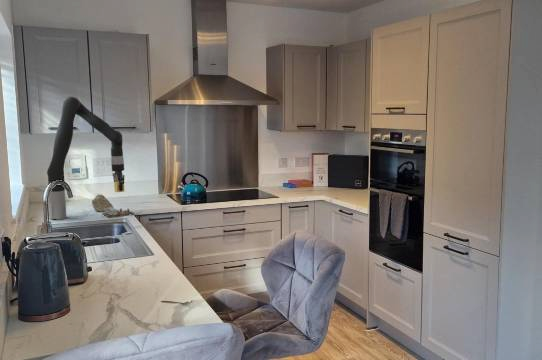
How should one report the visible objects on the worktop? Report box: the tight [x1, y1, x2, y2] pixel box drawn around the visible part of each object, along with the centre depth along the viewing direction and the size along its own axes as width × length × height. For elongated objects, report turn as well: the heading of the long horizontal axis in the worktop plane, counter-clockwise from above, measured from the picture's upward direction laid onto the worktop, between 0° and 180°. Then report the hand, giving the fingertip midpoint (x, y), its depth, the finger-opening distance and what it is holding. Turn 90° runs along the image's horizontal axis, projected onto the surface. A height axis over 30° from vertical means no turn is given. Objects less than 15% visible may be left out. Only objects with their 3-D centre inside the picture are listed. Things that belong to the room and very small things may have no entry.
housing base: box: [101, 208, 134, 219], centre depth 317 cm, size 16×10×3 cm, turn 129°
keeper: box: [104, 207, 118, 215], centre depth 314 cm, size 4×10×3 cm, turn 39°
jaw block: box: [113, 181, 125, 193], centre depth 313 cm, size 5×5×6 cm
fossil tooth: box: [91, 193, 115, 212], centre depth 327 cm, size 12×6×15 cm
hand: (119, 190), depth 314 cm, fingers closed on jaw block, 4 cm apart
